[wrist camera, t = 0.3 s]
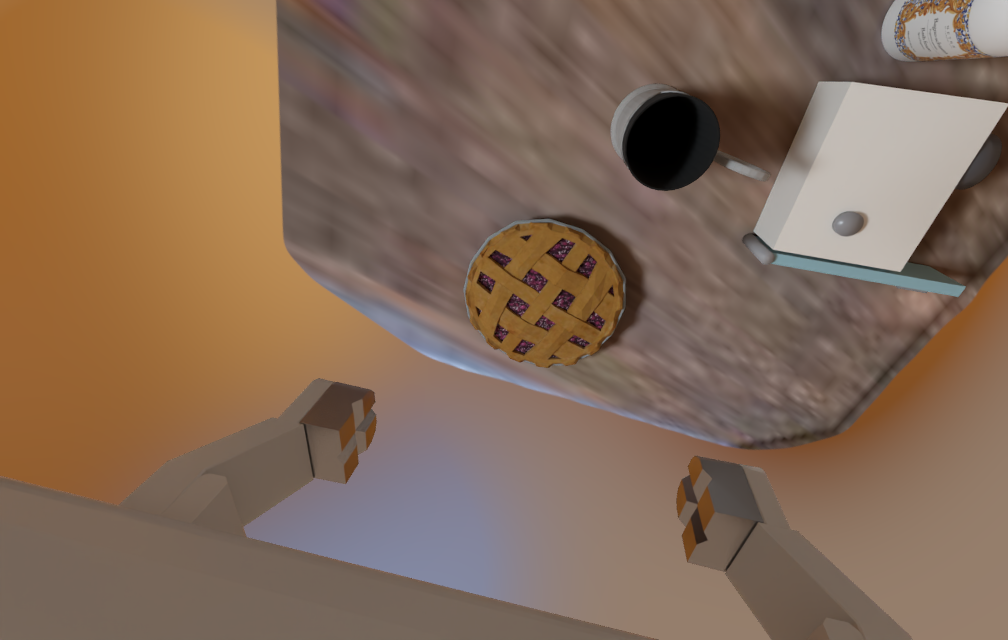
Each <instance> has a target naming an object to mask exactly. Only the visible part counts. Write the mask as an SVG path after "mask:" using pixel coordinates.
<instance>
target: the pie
mask: <svg viewBox="0 0 1008 640" xmlns="http://www.w3.org/2000/svg"><path fill="white" fill-rule="evenodd" d="M464 296H465V301H466V307H467V313H468V317H469V319H470V322H471V324H472V325H473V326H474V328H475V329H476V330H478V331H479V332H480V334H481V335H482V337H483V338H484V339H485V340H486V342H487V343H488V344H489V345H490V346H491V347H493V348H494V349H499V350H501V351H502V352H503V353H505V354H506V355H508V356H509V358H510V359H513V360H515V361H518V362H522V361H525V362H528V363H531V364H534V365H536V366H537V367H545V368H549V367H550V366H551V365H565V366H568V365H573V364H576V363H577V361H578V360H579V359H582V358H584V357H587V356H589V355H592V354H594V353H595V352H597V351H598V350H599V349H600V346H601V345H602V344H603V343H604V342H605V341H606V340H607V339H608V338H609V337H611V336H612V335H613V333H614V331H615V329H616V327H617V324H618V322H619V320H620V318H621V316H622V314H623V312H624V310H625V305H626V278H625V276H624V274H623V272H622V270H621V269H620V267H619V265H618V263H617V261H616V259H615V258H614V256H613V254H612V252H611V251H610V250H609V249H608V248H607V247H605V246H604V245H603V244H601V243H600V242H599V241H598V240H596V239H595V238H594V237H592V236H591V235H590V234H588V233H587V232H586V231H585V230H583V229H580V228H577V227H574V226H571V225H568V224H565V223H562V222H558V221H555V220H552V219H536V220H522V221H515V222H513V223H511V224H510V225H508V226H506V227H505V228H503V229H501V230H499V231H498V232H496V233H494V234H493V235H491V236H489V237H488V238H487V239H486V241H485V242H484V244H483V245H482V246H481V248H480V249H479V251H478V252H477V253H476V255H475V256H474V258H473V259H472V260H471V262H470V265H469V269H468V273H467V278H466V282H465V286H464Z"/></svg>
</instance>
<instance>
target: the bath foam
mask: <svg viewBox="0 0 1008 640" xmlns="http://www.w3.org/2000/svg"><path fill="white" fill-rule="evenodd" d="M881 36H882V43H883V46H884V48H885V50H886V51H887V53H888V54H889V55H890V56H892V57H893V58H895V59H897V60H900V61H906V62H917V61H939V60H957V59H975V58H993V57H1008V0H895V1H894V2H893V4H892V5H891V7H890V8H889V10H888V12H887V14H886V16H885V19H884V22H883V26H882V33H881Z"/></svg>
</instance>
